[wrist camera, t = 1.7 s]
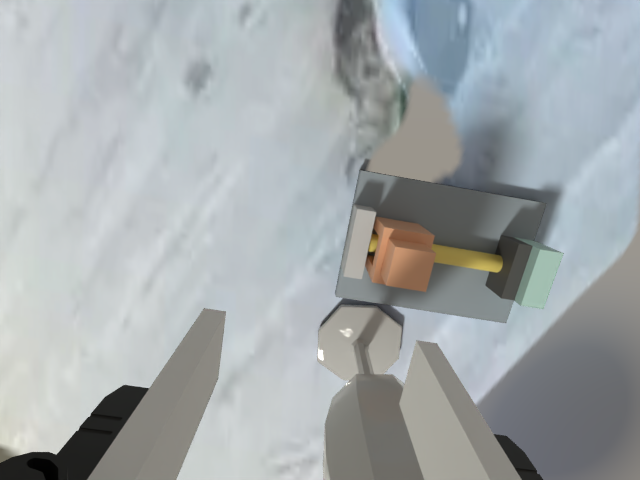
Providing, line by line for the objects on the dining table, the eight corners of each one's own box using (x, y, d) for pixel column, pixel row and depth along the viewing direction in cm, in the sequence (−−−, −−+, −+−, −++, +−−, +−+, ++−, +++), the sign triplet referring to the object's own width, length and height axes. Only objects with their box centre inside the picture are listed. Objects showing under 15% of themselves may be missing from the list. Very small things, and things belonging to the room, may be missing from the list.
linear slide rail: (359, 169, 32) (367, 173, 27) (539, 201, 33) (578, 211, 28) (335, 292, 35) (338, 316, 30) (500, 318, 36) (530, 345, 31)
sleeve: (375, 216, 31) (391, 234, 25) (418, 223, 32) (445, 243, 25) (364, 264, 33) (377, 294, 26) (406, 271, 33) (429, 302, 26)
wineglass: (303, 362, 37) (288, 630, 16) (334, 289, 35) (361, 490, 14) (380, 387, 38) (458, 671, 17) (415, 317, 36) (549, 545, 15)
